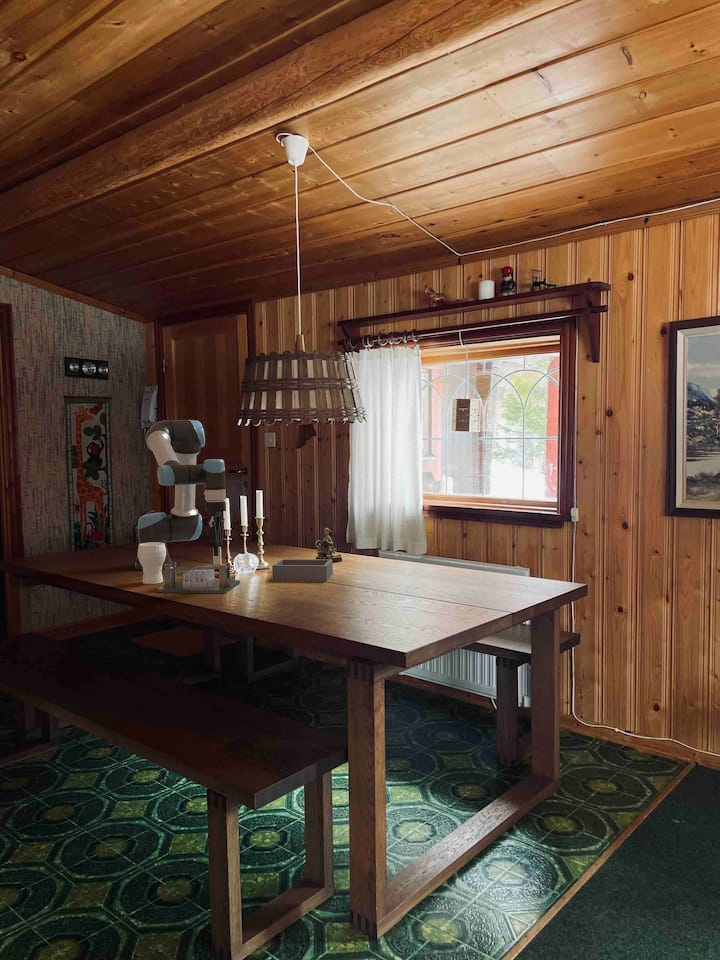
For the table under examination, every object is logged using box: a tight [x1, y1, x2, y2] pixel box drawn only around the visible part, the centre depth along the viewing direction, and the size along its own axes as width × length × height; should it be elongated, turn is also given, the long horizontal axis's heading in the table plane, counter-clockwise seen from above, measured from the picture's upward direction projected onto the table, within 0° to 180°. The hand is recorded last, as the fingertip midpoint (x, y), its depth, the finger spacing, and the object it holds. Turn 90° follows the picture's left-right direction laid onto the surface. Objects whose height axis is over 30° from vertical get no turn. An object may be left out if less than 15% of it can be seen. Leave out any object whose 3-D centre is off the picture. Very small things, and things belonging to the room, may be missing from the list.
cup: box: [137, 542, 166, 585], centre depth 283 cm, size 11×11×15 cm
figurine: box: [314, 527, 343, 564], centre depth 325 cm, size 12×11×15 cm
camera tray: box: [271, 558, 334, 582], centre depth 289 cm, size 14×21×6 cm
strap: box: [171, 563, 228, 572], centre depth 272 cm, size 23×3×2 cm, turn 83°
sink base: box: [155, 561, 241, 595], centre depth 272 cm, size 26×18×9 cm
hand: (217, 564), depth 270 cm, fingers closed
